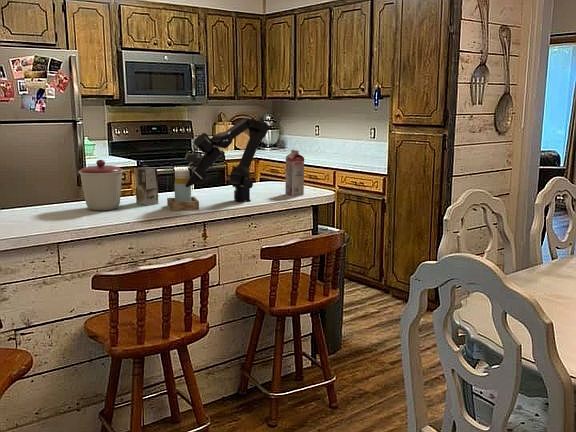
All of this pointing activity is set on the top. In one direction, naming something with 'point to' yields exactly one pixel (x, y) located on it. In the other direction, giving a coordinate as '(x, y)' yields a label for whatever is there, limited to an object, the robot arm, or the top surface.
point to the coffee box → (146, 185)
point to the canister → (101, 186)
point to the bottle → (182, 186)
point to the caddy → (183, 204)
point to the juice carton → (294, 174)
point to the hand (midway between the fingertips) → (184, 185)
